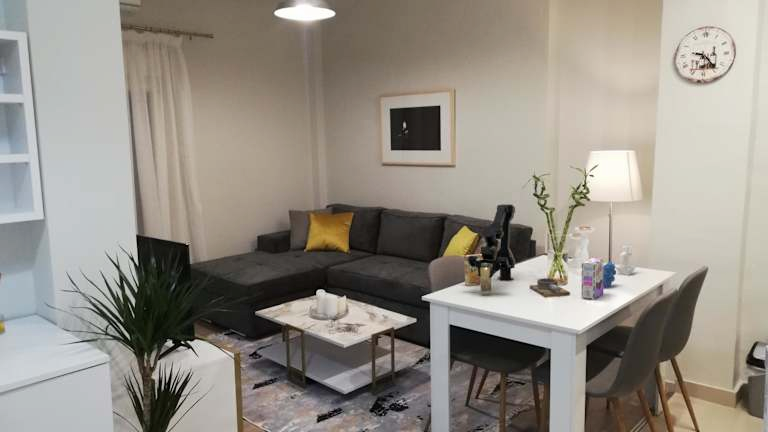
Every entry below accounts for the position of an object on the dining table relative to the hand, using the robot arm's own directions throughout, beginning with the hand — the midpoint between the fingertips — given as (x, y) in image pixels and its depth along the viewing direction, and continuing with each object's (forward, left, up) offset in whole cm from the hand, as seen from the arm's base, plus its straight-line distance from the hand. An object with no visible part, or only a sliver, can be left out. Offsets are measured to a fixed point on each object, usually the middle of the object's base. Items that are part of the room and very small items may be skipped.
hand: (484, 276), depth 271 cm
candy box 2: (+15, +46, -9) cm, 49 cm away
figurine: (-22, +84, -9) cm, 87 cm away
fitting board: (+2, +31, -9) cm, 32 cm away
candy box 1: (-23, +2, -9) cm, 25 cm away
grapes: (0, +61, -9) cm, 61 cm away
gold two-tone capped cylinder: (-1, +1, -7) cm, 7 cm away
